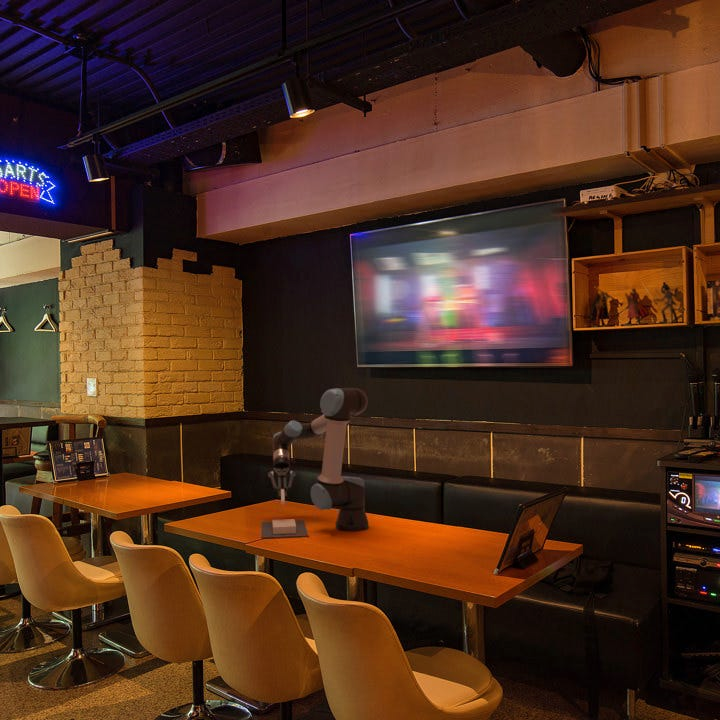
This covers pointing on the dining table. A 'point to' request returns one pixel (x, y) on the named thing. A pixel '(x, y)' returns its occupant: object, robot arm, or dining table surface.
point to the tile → (284, 526)
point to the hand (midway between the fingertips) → (282, 502)
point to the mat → (268, 534)
